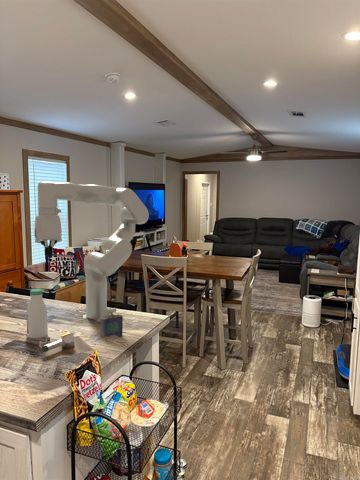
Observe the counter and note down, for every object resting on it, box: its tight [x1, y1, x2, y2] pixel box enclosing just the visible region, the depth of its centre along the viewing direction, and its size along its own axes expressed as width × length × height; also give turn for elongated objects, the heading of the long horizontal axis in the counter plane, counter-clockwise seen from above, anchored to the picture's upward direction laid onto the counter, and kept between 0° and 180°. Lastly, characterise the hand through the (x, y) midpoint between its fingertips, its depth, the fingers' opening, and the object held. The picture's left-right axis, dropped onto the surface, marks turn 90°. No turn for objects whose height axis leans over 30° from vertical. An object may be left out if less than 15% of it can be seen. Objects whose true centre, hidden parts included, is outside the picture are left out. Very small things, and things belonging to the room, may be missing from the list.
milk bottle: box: [26, 288, 49, 339], centre depth 144 cm, size 8×8×20 cm
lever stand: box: [36, 335, 94, 362], centre depth 133 cm, size 16×15×5 cm
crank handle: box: [40, 332, 75, 353], centre depth 130 cm, size 13×4×5 cm, turn 144°
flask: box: [100, 312, 124, 338], centre depth 147 cm, size 9×3×11 cm, turn 121°
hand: (48, 256), depth 150 cm, fingers closed
